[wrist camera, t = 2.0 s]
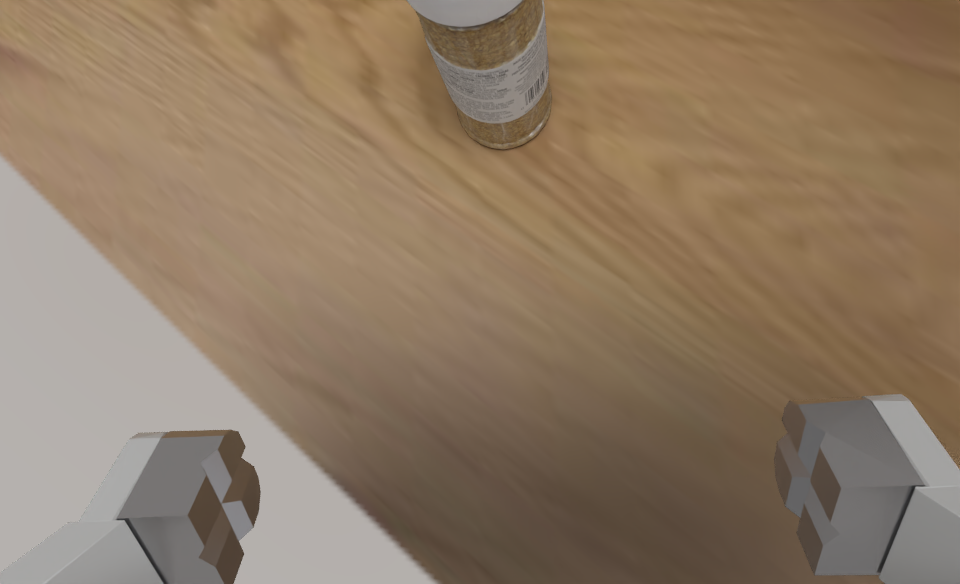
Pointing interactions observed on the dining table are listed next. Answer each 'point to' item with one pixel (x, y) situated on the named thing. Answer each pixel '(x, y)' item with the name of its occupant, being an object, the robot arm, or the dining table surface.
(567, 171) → the dining table surface
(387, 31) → the dining table surface
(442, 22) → the sprinkles bottle
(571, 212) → the dining table surface
